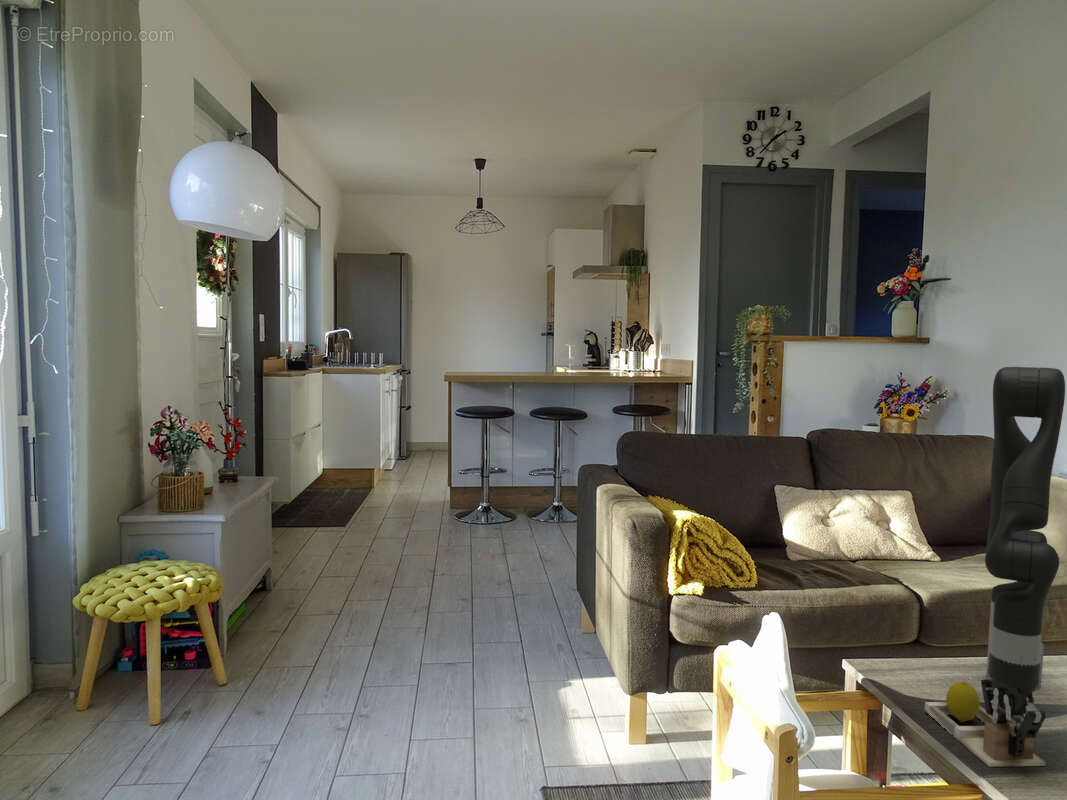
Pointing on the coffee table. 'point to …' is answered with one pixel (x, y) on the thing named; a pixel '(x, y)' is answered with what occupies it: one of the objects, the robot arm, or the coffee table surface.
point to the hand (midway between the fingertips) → (1008, 749)
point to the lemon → (962, 701)
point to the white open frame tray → (985, 738)
